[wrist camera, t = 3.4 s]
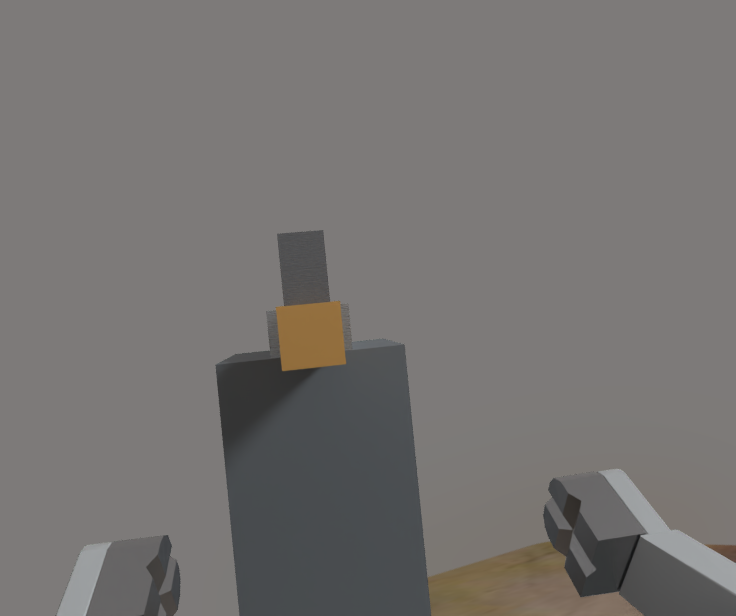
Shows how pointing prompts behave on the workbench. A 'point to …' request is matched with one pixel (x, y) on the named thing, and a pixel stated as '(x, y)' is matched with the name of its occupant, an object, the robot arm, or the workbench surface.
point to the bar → (307, 305)
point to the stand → (323, 483)
